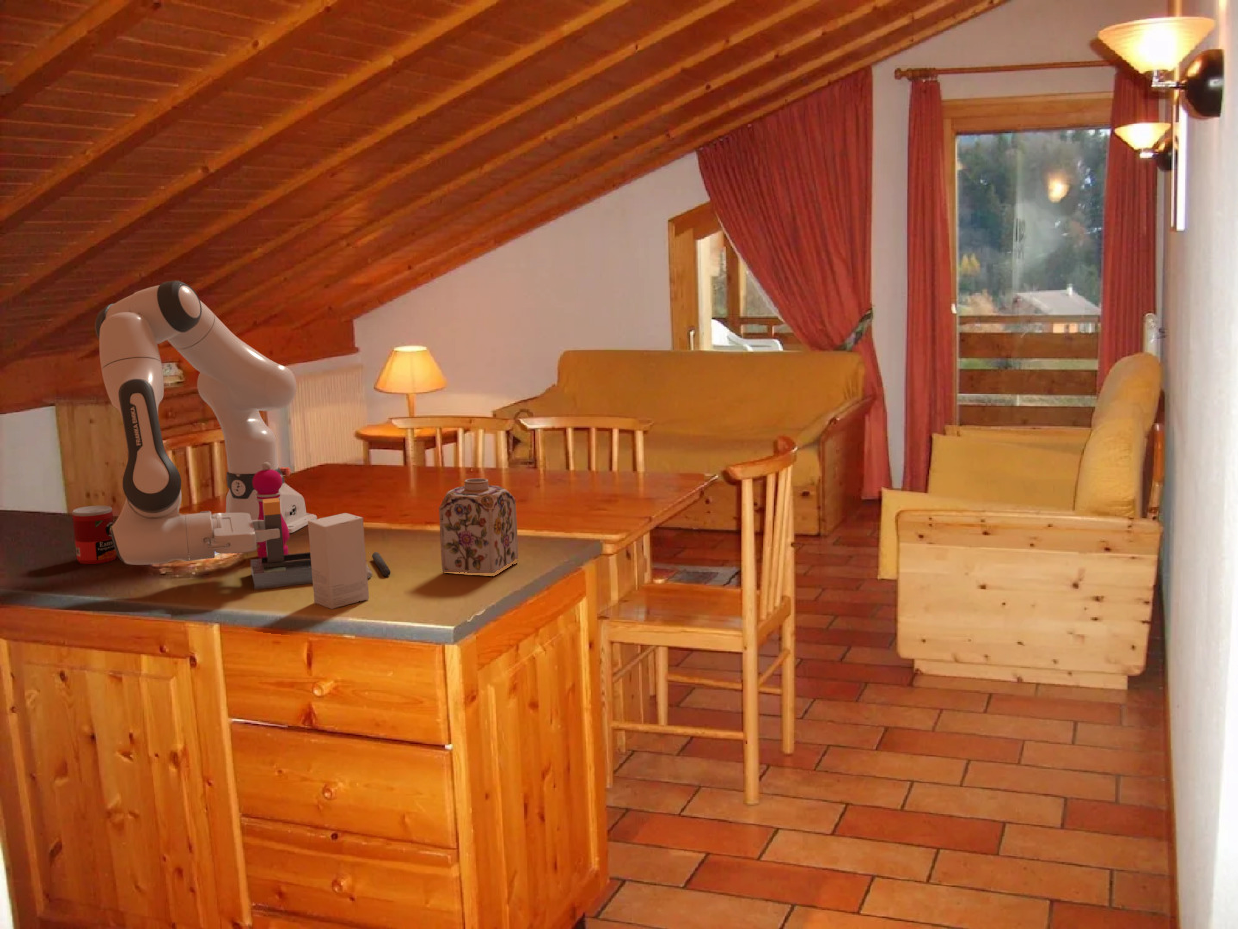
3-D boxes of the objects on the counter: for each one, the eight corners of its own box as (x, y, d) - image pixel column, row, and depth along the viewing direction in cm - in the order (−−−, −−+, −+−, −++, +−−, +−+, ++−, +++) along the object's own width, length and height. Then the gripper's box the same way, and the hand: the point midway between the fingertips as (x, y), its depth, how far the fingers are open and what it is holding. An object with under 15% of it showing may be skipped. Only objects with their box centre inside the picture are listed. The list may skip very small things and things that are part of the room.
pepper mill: (297, 552, 268) (290, 459, 264) (278, 560, 261) (270, 465, 257) (268, 550, 270) (261, 458, 267) (248, 559, 263) (240, 464, 260)
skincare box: (352, 593, 235) (346, 511, 232) (371, 600, 230) (366, 517, 227) (312, 603, 229) (305, 519, 226) (330, 610, 224) (324, 525, 222)
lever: (268, 566, 244) (263, 503, 241) (267, 561, 247) (262, 499, 245) (284, 564, 244) (279, 501, 242) (283, 559, 248) (278, 497, 246)
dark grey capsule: (354, 561, 259) (353, 553, 258) (379, 558, 260) (379, 551, 260) (364, 579, 244) (363, 571, 244) (391, 576, 246) (390, 568, 246)
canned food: (103, 565, 262) (98, 513, 260) (69, 564, 263) (63, 512, 261) (124, 556, 269) (119, 505, 267) (91, 555, 271) (86, 505, 269)
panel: (254, 589, 239) (253, 569, 239) (251, 574, 251) (250, 554, 250) (350, 578, 245) (349, 558, 244) (343, 564, 256) (342, 545, 256)
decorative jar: (440, 574, 247) (435, 484, 244) (467, 559, 258) (463, 473, 254) (495, 578, 243) (491, 486, 240) (520, 563, 253) (517, 475, 250)
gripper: (203, 531, 230) (281, 523, 235) (201, 509, 249) (273, 503, 254) (206, 564, 231) (283, 556, 236) (204, 540, 251) (275, 533, 255)
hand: (278, 528), depth 245 cm, fingers open, 6 cm apart
